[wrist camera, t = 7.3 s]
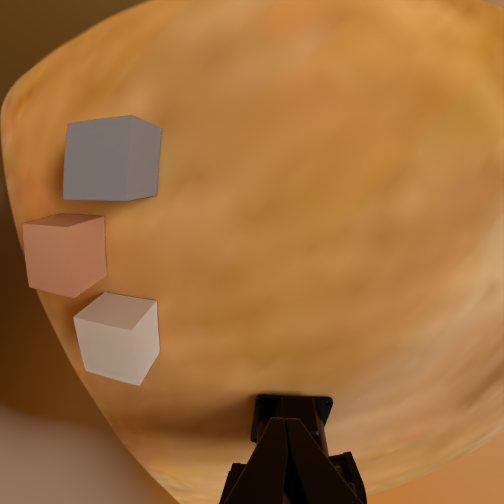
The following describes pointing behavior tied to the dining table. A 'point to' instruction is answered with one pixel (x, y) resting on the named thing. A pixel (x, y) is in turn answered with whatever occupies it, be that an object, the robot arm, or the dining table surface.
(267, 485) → the robot arm
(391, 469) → the dining table surface
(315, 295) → the dining table surface
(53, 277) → the terracotta cube
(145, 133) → the grey cube
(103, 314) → the white cube
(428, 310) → the dining table surface
